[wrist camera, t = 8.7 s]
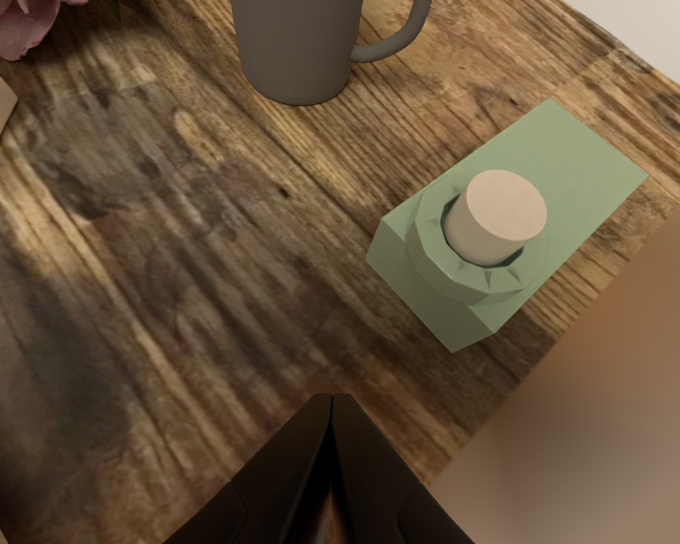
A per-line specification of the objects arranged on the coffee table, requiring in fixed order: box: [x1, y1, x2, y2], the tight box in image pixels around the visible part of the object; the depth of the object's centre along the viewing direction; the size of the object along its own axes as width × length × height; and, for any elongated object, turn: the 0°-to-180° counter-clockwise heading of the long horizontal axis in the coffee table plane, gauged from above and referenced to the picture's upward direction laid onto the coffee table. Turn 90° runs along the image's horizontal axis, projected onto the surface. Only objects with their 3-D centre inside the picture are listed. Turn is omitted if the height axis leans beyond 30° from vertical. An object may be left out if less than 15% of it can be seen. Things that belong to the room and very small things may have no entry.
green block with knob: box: [365, 97, 649, 353], centre depth 22 cm, size 17×8×7 cm, turn 131°
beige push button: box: [444, 169, 547, 266], centre depth 16 cm, size 4×4×2 cm
